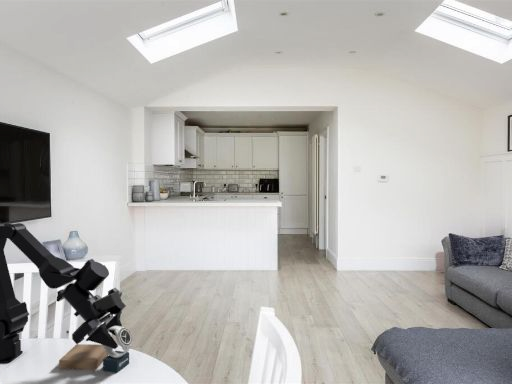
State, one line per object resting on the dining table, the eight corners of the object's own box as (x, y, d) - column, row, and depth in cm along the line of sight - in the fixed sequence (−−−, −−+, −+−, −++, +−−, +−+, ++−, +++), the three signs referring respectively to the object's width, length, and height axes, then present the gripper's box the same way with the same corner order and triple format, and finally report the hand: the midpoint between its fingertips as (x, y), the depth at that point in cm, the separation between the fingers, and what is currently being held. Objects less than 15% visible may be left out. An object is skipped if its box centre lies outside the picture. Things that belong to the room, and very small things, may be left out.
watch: (123, 373, 103) (123, 332, 103) (97, 369, 105) (97, 329, 105) (135, 364, 109) (135, 325, 108) (110, 360, 111) (110, 322, 111)
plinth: (59, 369, 106) (59, 360, 106) (76, 352, 116) (76, 344, 116) (96, 369, 106) (96, 360, 106) (110, 352, 116) (110, 344, 116)
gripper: (82, 291, 98) (124, 338, 96) (119, 273, 116) (154, 312, 115) (53, 321, 99) (95, 367, 98) (94, 298, 117) (129, 337, 116)
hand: (121, 343), depth 107 cm, fingers closed on watch, 5 cm apart
